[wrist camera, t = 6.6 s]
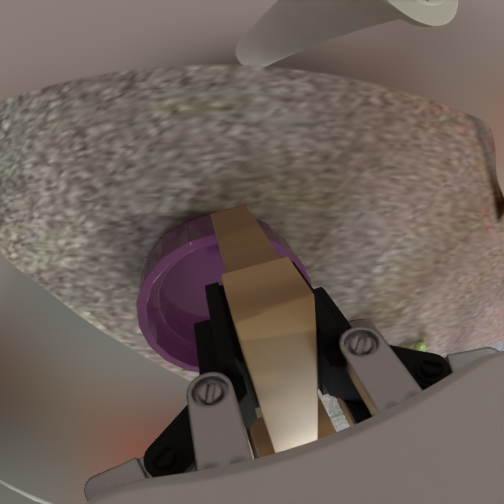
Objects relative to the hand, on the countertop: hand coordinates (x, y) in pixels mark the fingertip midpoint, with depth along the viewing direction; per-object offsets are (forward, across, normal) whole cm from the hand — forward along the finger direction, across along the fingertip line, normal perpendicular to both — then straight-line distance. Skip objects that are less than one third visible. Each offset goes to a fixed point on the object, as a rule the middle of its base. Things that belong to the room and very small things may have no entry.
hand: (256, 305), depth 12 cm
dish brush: (+3, 0, +5) cm, 6 cm away
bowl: (+16, +2, +9) cm, 19 cm away
